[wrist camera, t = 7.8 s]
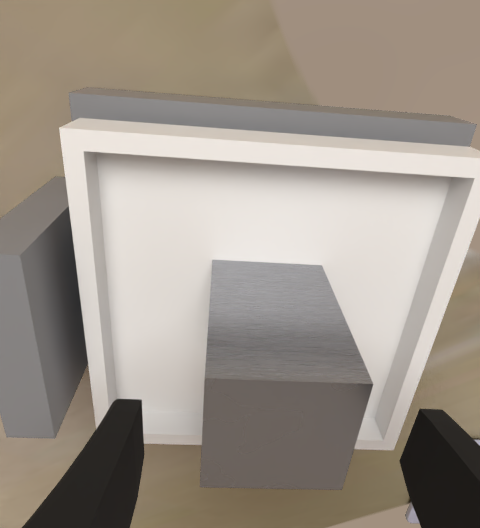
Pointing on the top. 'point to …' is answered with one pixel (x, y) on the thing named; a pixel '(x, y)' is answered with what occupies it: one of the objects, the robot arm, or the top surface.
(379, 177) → the kitchen scale
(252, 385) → the steel block
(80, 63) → the top surface
